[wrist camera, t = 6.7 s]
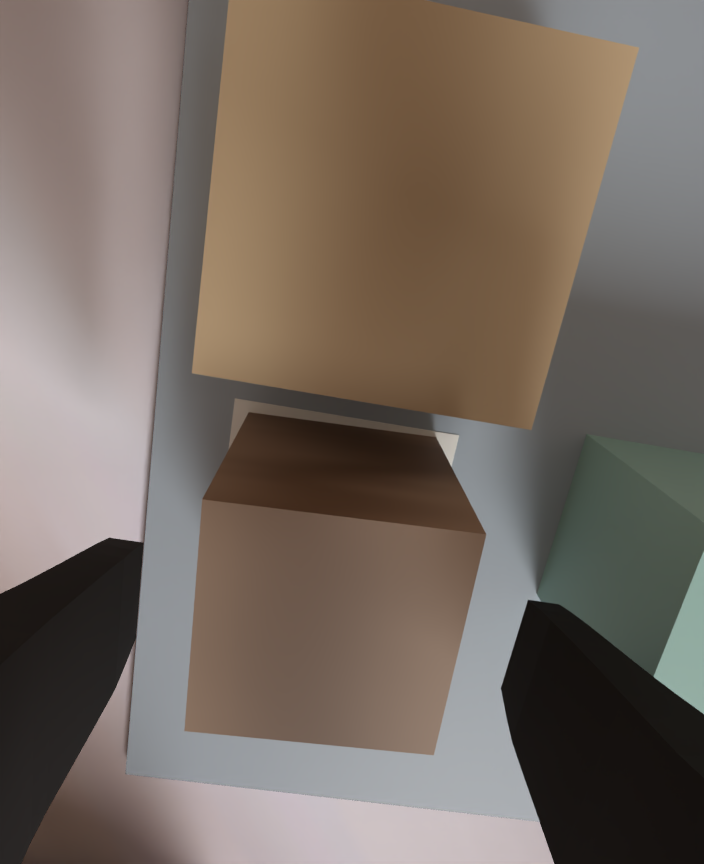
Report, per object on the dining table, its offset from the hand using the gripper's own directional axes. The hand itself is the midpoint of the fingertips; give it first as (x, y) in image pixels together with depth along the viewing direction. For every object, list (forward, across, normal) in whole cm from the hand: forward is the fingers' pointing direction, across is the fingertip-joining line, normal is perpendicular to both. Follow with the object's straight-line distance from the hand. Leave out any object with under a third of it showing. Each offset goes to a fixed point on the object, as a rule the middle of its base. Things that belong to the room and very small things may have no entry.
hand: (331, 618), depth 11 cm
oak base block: (+4, 0, -7) cm, 8 cm away
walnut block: (+4, 0, 0) cm, 4 cm away
